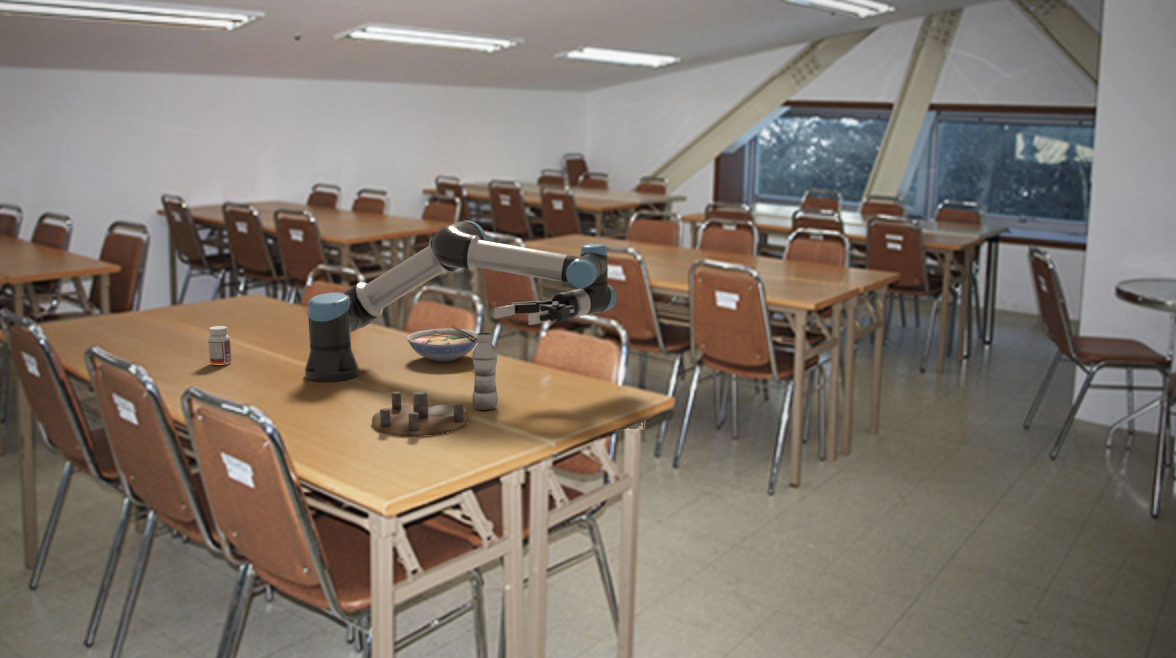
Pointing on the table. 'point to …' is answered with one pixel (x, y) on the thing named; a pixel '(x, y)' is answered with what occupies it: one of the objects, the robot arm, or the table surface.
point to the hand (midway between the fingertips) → (511, 316)
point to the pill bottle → (219, 345)
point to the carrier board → (423, 423)
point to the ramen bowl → (443, 343)
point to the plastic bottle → (485, 373)
